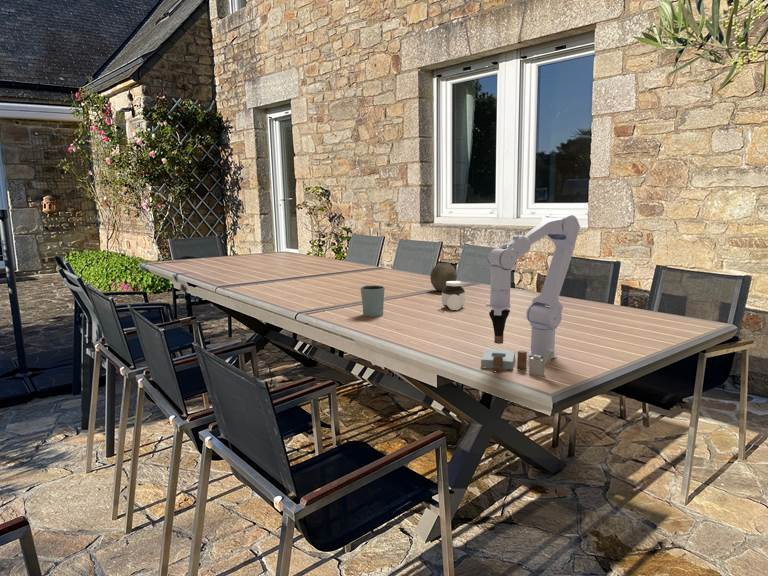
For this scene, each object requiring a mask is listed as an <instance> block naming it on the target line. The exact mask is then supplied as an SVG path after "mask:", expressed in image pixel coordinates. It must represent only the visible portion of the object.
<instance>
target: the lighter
mask: <svg viewBox="0 0 768 576" xmlns="http://www.w3.org/2000/svg"><path fill="white" fill-rule="evenodd" d="M554 353H555V351H554V350H553V349H548V350H547V352H546V354H545V356H544V357H541V356H539V355H533V357H529V359H528V362H529V363H528V373H529V374H532V375H535V376H539V377H542V376H545V372H546V371H545V367H546V365H547V364H550V361H552V359H553V358H552V356H553V354H554Z"/></svg>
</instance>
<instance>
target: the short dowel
mask: <svg viewBox="0 0 768 576" xmlns="http://www.w3.org/2000/svg"><path fill="white" fill-rule="evenodd" d="M502 366H503V357H500V356H495V357H493V369H492V372H494V371H496V372H495V373H497V372H500V373H502V372H503V369H502ZM501 371H502V372H501Z"/></svg>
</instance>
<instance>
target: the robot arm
mask: <svg viewBox="0 0 768 576" xmlns="http://www.w3.org/2000/svg"><path fill="white" fill-rule="evenodd" d="M580 229H581V225H580V223H579V221H578V218H577V217H576V216H575V215H573V214H569V215H564V214H560V215H559V214H558V215H557V214H548V215H546V216H544V217H541V220H540V222H538V224H536V225H535V226H534V227H532V228H531V230H529V231H528V232H526V233H525V234H524V235H522V234H515V235H513V236H512V239H510V240H508V241H507V242H506V243H503V244H501V246H500V247H499V248H498V247H497V248H493V249H492V250H491V251H490V252H489V253H488V256H487V257H486V264H487V265H488V266H489V272H490V286H489V287H490V289H489V291H490V293H489V294H490V295H489V296H490V297H489V298H490V299H489V300H490V301H489V302H486V304H485V307H489V308H490V311H489V312H488V315H489V317H490V319H491V323H492V327H493V332H494V333H493V334H494V336H502V335H503V336H504V334H503V331H504V332H505V328H506V322H507V319H508V317H509V315H510V313H511V309H510V308H511V276H512V268H514V267H515V264H516V262H517V261H518V259H519V258H521V257H522V256H524V255H525V254H527V253H528V252H529V251H530V250H531V246H532V245H533V244H534V243H537V242H538V241H540V240H541V239H543V238H544V237H546V236H547V237H548V238H549V240H550V241H551V242H552V243H553V245H554V246H555V249H554V251H553V254H552V258H551V260H550V264H549V267H548V271H547V274H546V277H545V279H544V282H543V286H542V288H541V292H540V293H539V295H537V296H535V297H534V298H533V299H532V301H531V304H530V305H529V306H528V308H527V310H526V319H527V321H528V322H529V326H531V330H530V331H531V332H530V347H529V352H528V357H529V358H531V357H533V355H539V356H541V358H544V356H545V354H546V352H547V350H548V349H553V350H554V351H555V353H554V354H553V356H552V358H551V359H556V357H557V356H556V355H557V354H556V349H555V347H556V346H555V345H556V329H558V327H559V325H560V324H561V323H562V316H563V315H562V313H563V308H564V305H562V303H561V302H560V300H559V297H560V294H561V291H562V288H563V285H564V282H565V279H566V276H567V272H568V269H569V267H570V263H571V260H572V257H573V254H574V251H575V247H576V241H577V239H578V235H579V232H580Z"/></svg>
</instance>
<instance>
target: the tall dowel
mask: <svg viewBox="0 0 768 576" xmlns="http://www.w3.org/2000/svg"><path fill="white" fill-rule="evenodd" d="M504 332H505V330H504V331H503V335H502V336H495V335H494V341H493V343H494V344H496V345H497V344H498V345H499V344H500V345H501V344H504Z"/></svg>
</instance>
